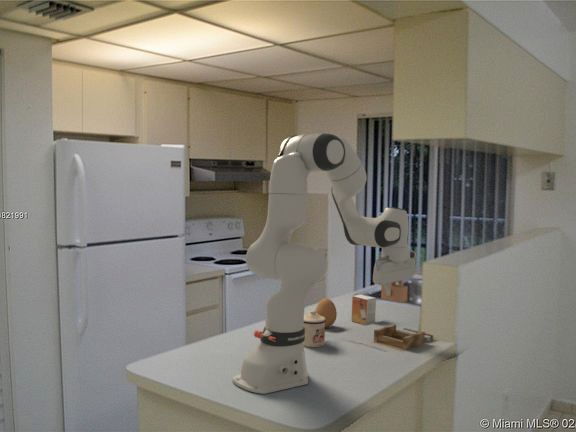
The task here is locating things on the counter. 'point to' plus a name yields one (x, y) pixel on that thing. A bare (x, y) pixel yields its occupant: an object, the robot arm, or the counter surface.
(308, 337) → the teacup with lid
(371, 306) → the small box
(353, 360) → the counter surface
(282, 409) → the counter surface
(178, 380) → the counter surface
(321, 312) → the egg
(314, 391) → the counter surface
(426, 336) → the plank
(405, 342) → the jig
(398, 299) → the block
